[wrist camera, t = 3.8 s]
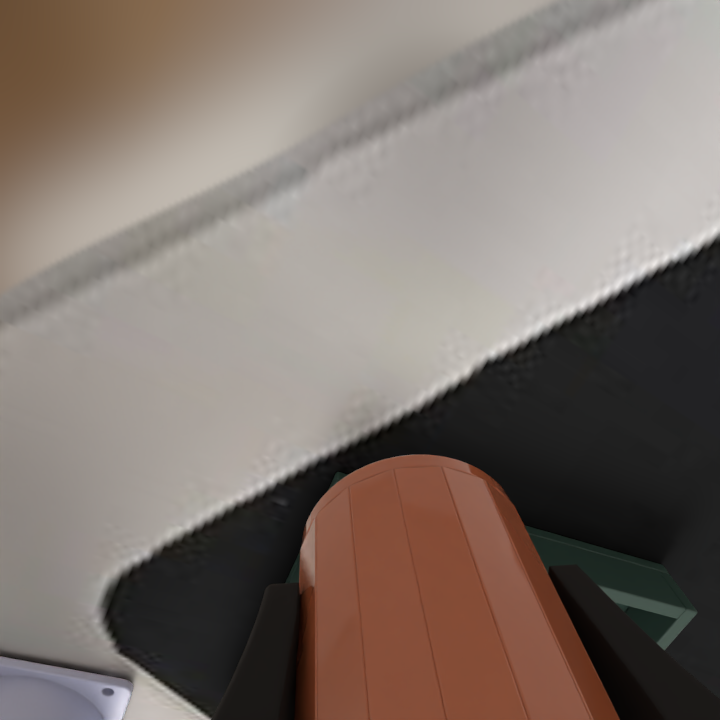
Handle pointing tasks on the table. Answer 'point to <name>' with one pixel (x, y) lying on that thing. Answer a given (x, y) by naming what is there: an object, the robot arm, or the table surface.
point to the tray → (610, 581)
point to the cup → (433, 605)
